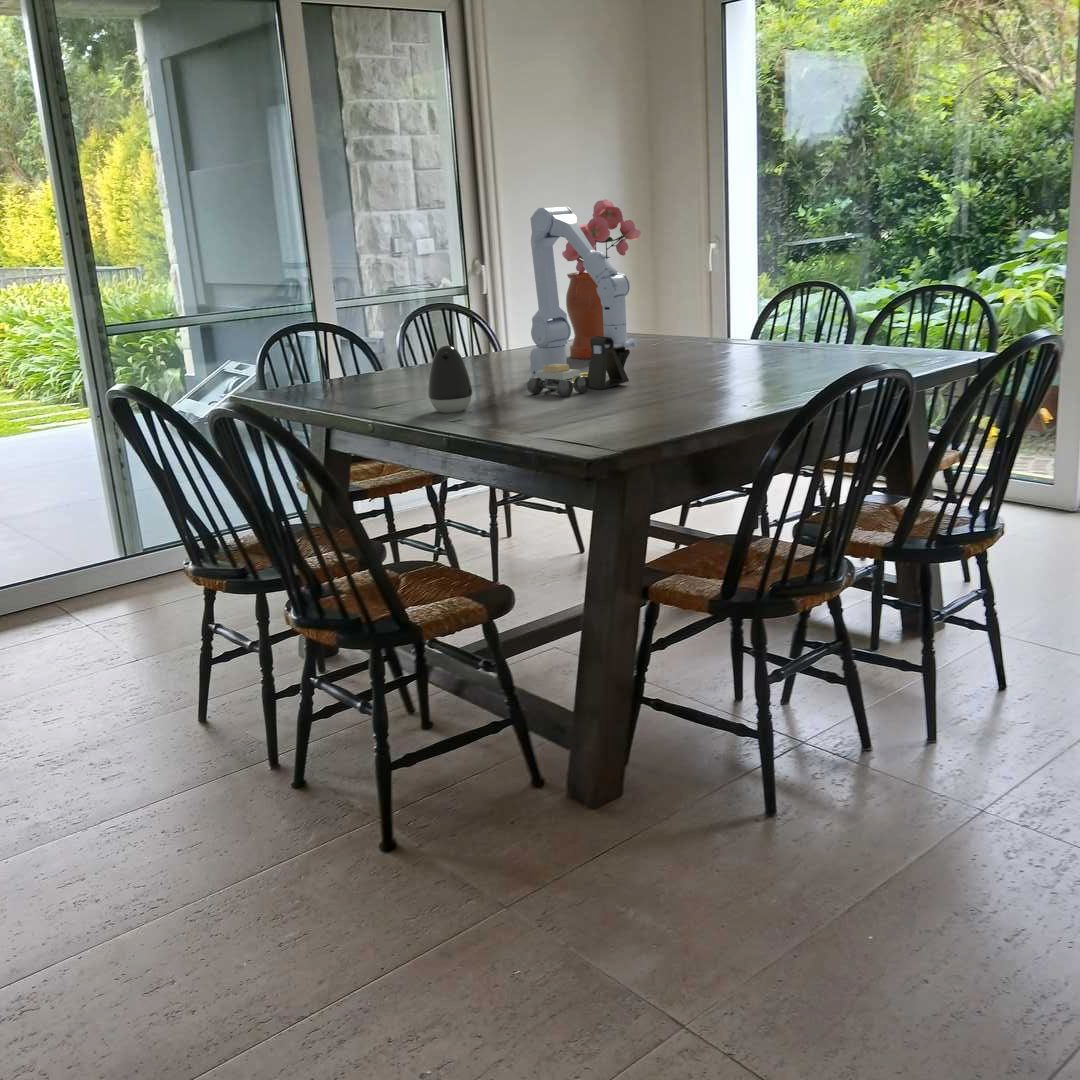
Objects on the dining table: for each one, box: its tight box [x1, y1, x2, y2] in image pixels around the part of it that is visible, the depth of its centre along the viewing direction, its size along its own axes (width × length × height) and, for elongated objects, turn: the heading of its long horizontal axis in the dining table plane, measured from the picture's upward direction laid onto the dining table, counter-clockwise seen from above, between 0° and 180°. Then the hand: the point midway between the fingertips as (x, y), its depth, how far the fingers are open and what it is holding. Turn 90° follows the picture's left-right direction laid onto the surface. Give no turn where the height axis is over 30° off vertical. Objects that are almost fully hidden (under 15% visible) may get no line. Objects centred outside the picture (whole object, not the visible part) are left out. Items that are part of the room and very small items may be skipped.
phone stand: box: [587, 336, 630, 391], centre depth 278 cm, size 9×6×12 cm, turn 120°
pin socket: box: [572, 372, 588, 382], centre depth 285 cm, size 5×5×2 cm
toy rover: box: [527, 363, 590, 398], centre depth 274 cm, size 12×10×7 cm
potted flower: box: [561, 199, 641, 360], centre depth 331 cm, size 19×25×45 cm
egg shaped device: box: [427, 345, 473, 414], centre depth 258 cm, size 10×10×15 cm
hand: (617, 378), depth 282 cm, fingers closed, pressing on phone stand
